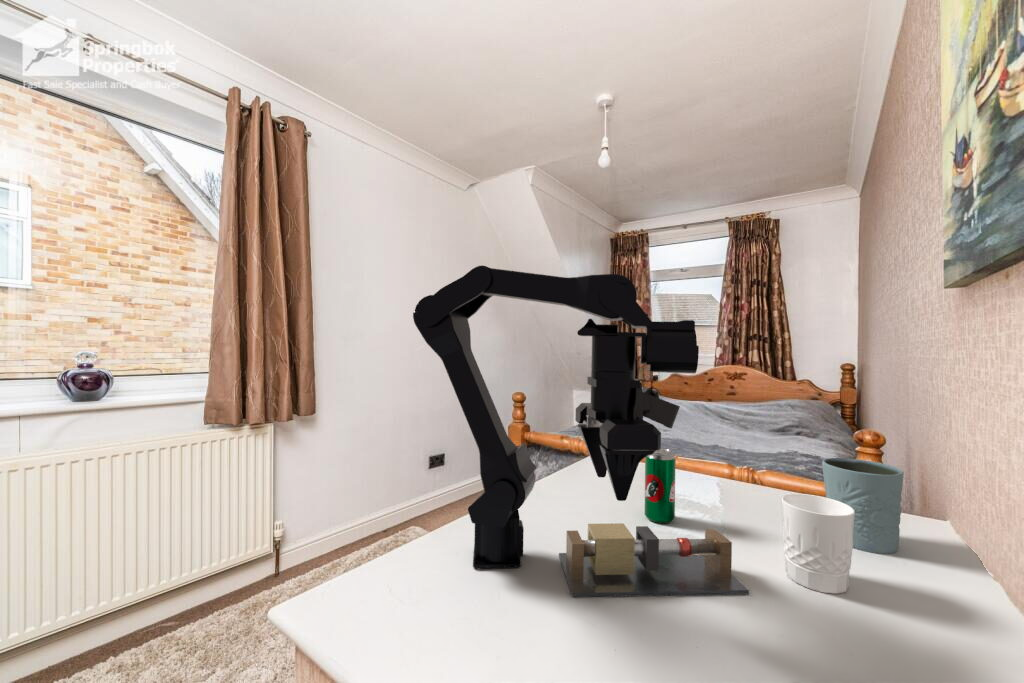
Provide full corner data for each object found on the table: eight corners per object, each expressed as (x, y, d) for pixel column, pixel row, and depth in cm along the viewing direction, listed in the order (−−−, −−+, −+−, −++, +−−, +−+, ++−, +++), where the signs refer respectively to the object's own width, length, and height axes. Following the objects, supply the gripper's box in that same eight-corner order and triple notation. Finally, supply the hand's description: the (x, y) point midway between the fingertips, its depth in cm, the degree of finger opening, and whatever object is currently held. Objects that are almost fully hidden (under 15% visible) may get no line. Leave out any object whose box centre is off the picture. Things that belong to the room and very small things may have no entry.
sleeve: (595, 574, 55) (596, 538, 55) (587, 557, 60) (587, 523, 60) (634, 574, 55) (634, 538, 55) (623, 556, 60) (623, 523, 60)
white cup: (821, 601, 52) (822, 518, 52) (766, 568, 60) (767, 496, 60) (870, 592, 54) (870, 512, 54) (811, 561, 62) (812, 491, 62)
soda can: (677, 526, 73) (677, 455, 73) (646, 523, 74) (646, 453, 74) (672, 514, 78) (673, 448, 78) (643, 512, 79) (643, 446, 79)
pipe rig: (572, 597, 52) (572, 555, 52) (558, 556, 62) (559, 521, 62) (748, 594, 53) (749, 553, 53) (707, 554, 63) (708, 520, 63)
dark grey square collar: (646, 570, 56) (646, 539, 56) (635, 555, 60) (636, 526, 60) (658, 570, 56) (658, 539, 56) (647, 555, 60) (647, 526, 60)
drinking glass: (895, 563, 62) (896, 479, 62) (812, 537, 69) (813, 463, 70) (908, 543, 68) (909, 466, 68) (831, 522, 76) (832, 453, 76)
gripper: (707, 377, 49) (704, 515, 49) (646, 367, 67) (644, 467, 67) (610, 375, 48) (607, 515, 48) (575, 366, 67) (573, 467, 67)
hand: (610, 487), depth 58 cm, fingers open, 9 cm apart
